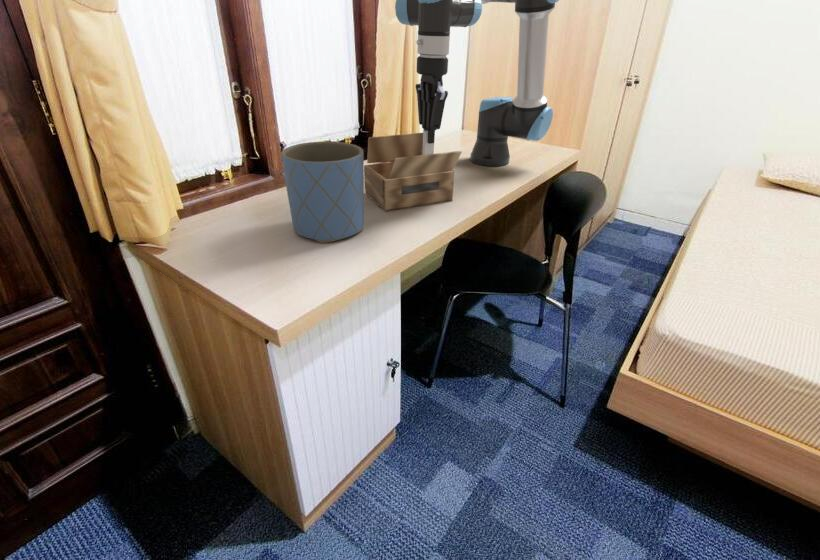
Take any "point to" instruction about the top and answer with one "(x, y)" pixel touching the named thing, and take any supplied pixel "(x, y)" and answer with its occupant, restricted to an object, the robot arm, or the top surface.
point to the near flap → (424, 164)
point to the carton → (406, 188)
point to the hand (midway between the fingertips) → (427, 154)
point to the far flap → (394, 147)
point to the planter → (325, 189)
